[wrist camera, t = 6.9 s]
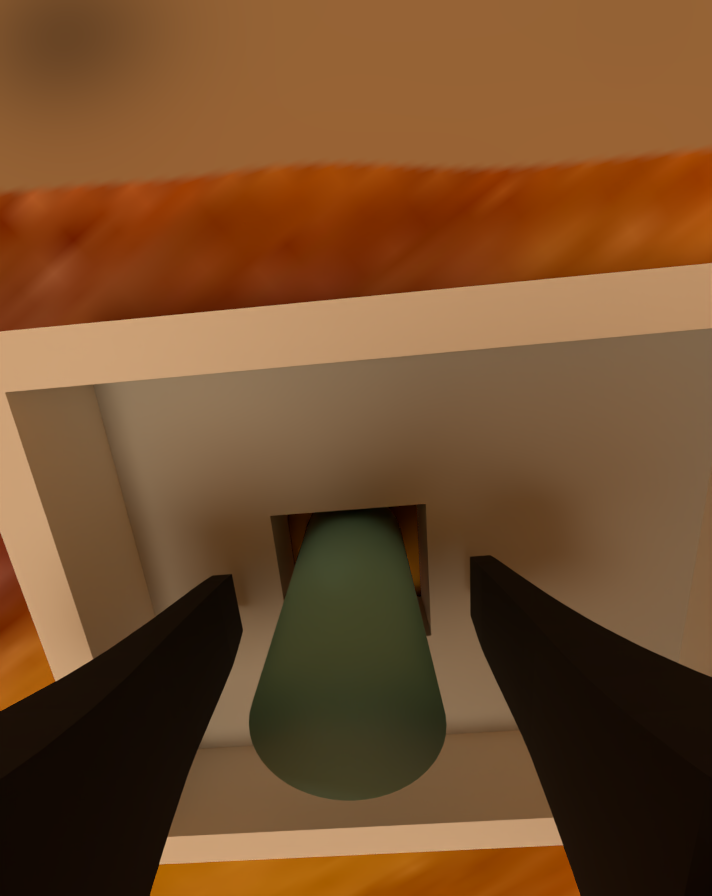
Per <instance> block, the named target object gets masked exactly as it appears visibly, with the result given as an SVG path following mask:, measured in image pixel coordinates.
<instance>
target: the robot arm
mask: <svg viewBox="0 0 712 896" xmlns="http://www.w3.org/2000/svg"><path fill="white" fill-rule="evenodd" d="M470 616H471V619H472V622H473V625H474V628H475V631H476V634H477V637H478V640H479V643H480V646H481V649H482V651H483V653H484V656H485V658H486V660H487V662H488V664H489V666H490V669H491V671H492V673H493V675H494V677H495V679H496V682H497V684H498V686H499V688H500V690H501V692H502V694H503V696H504V699H505V701H506V703H507V705H508V707H509V709H510V711H511V713H512V716H513V718H514V720H515V722H516V724H517V726H518V728H519V731H520V733H521V735H522V737H523V740H524V742H525V744H526V747H527V749H528V751H529V754H530V756H531V759H532V761H533V764H534V767H535V769H536V772H537V775H538V777H539V780H540V783H541V785H542V788H543V791H544V793H545V796H546V799H547V802H548V804H549V807H550V810H551V813H552V815H553V818H554V821H555V824H556V826H557V829H558V832H559V835H560V838H561V840H562V843H563V846H564V849H565V852H566V854H567V857H568V860H569V863H570V866H571V869H572V871H573V874H574V877H575V880H576V883H577V886H578V889H579V892H580V895H581V896H712V677H710V676H708V675H705V674H703V673H700V672H698V671H695V670H693V669H691V668H688V667H686V666H684V665H682V664H679V663H677V662H675V661H673V660H670V659H668V658H666V657H663V656H661V655H659V654H657V653H654V652H652V651H650V650H648V649H646V648H644V647H642V646H640V645H638V644H636V643H633V642H632V641H630V640H628V639H626V638H624V637H622V636H620V635H618V634H616V633H614V632H612V631H610V630H608V629H606V628H604V627H602V626H601V625H599V624H597V623H595V622H593V621H592V620H590V619H588V618H586V617H585V616H583V615H581V614H580V613H578V612H576V611H575V610H573V609H571V608H570V607H568V606H566V605H564V604H563V603H561V602H560V601H558V600H557V599H555V598H553V597H552V596H550V595H549V594H547V593H546V592H544V591H543V590H541V589H540V588H538V587H537V586H535V585H534V584H532V583H531V582H529V581H528V580H526V579H525V578H523V577H522V576H520V575H519V574H518V573H516V572H515V571H513V570H512V569H510V568H509V567H508V566H506V565H505V564H503V563H502V562H500V561H499V560H497V559H496V558H494V557H493V556H491V555H486V556H472V557H470ZM242 633H243V628H242V623H241V617H240V612H239V607H238V602H237V597H236V592H235V587H234V582H233V577H232V574H225V575H212V576H211V577H209V578H207V579H206V580H204V581H203V582H201V583H200V584H199V585H197V586H196V587H195V588H193V589H192V590H190V591H189V592H188V593H186V594H185V595H184V596H182V597H181V598H180V599H178V600H177V601H176V602H174V603H173V604H172V605H170V606H169V607H168V608H166V609H165V610H164V611H162V612H161V613H160V614H158V615H157V616H156V617H154V618H153V619H151V620H150V621H149V622H147V623H146V624H144V625H143V626H142V627H140V628H139V629H137V630H136V631H134V632H133V633H131V634H130V635H129V636H127V637H126V638H124V639H123V640H121V641H120V642H119V643H117V644H116V645H114V646H113V647H111V648H110V649H108V650H107V651H105V652H104V653H102V654H100V655H99V656H97V657H96V658H94V659H93V660H91V661H89V662H88V663H86V664H84V665H83V666H81V667H79V668H78V669H76V670H74V671H73V672H71V673H69V674H68V675H66V676H64V677H63V678H61V679H59V680H58V681H56V682H54V683H52V684H50V685H48V686H47V687H45V688H43V689H41V690H39V691H37V692H35V693H34V694H32V695H30V696H28V697H26V698H24V699H23V700H21V701H19V702H17V703H15V704H13V705H11V706H10V707H8V708H6V709H4V710H2V711H0V896H150V892H151V889H152V885H153V882H154V879H155V876H156V872H157V869H158V866H159V863H160V860H161V856H162V853H163V850H164V847H165V844H166V840H167V837H168V834H169V831H170V827H171V824H172V821H173V818H174V815H175V812H176V809H177V806H178V803H179V800H180V797H181V794H182V791H183V788H184V785H185V782H186V779H187V776H188V773H189V771H190V768H191V766H192V763H193V760H194V758H195V755H196V753H197V750H198V748H199V746H200V743H201V741H202V738H203V736H204V734H205V731H206V729H207V727H208V724H209V722H210V720H211V717H212V715H213V713H214V710H215V708H216V706H217V703H218V701H219V699H220V696H221V694H222V691H223V689H224V687H225V684H226V682H227V679H228V677H229V675H230V672H231V670H232V667H233V664H234V661H235V658H236V655H237V651H238V648H239V644H240V640H241V637H242Z"/></svg>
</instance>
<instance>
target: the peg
mask: <svg viewBox="0 0 712 896" xmlns="http://www.w3.org/2000/svg"><path fill="white" fill-rule="evenodd" d="M446 727H447V723H446V714H445V710H444V706H443V702H442V698H441V694H440V689H439V685H438V681H437V677H436V673H435V669H434V665H433V661H432V657H431V653H430V649H429V645H428V640H427V636H426V632H425V628H424V624H423V620H422V616H421V612H420V608H419V604H418V600H417V595H416V591H415V587H414V583H413V579H412V575H411V571H410V567H409V563H408V559H407V555H406V551H405V546H404V542H403V538H402V534H401V530H400V526H399V523H398V521H397V519H396V517H395V515H394V514H393V513H392V511H391V510H390V509H389V508H388V507H378V508H366V509H353V510H340V511H327V512H314V514H313V515H312V517H311V519H310V521H309V523H308V526H307V529H306V532H305V536H304V539H303V542H302V545H301V548H300V552H299V555H298V558H297V561H296V564H295V568H294V571H293V574H292V577H291V580H290V583H289V587H288V590H287V593H286V596H285V599H284V603H283V606H282V609H281V612H280V615H279V619H278V622H277V625H276V628H275V631H274V635H273V638H272V641H271V644H270V647H269V650H268V654H267V657H266V660H265V663H264V666H263V670H262V673H261V676H260V679H259V682H258V686H257V689H256V692H255V695H254V698H253V702H252V705H251V709H250V713H249V731H250V736H251V740H252V744H253V746H254V748H255V750H256V753H257V754H258V756H259V757H260V759H261V760H262V762H263V763H264V764H265V765H266V766H267V768H268V769H269V770H270V771H271V772H272V773H273V774H275V775H276V776H277V777H278V778H279V779H281V780H282V781H284V782H285V783H287V784H288V785H290V786H292V787H294V788H296V789H298V790H300V791H303V792H305V793H307V794H311V795H314V796H317V797H322V798H327V799H333V800H342V801H356V800H367V799H372V798H377V797H381V796H385V795H388V794H391V793H393V792H396V791H398V790H401V789H402V788H404V787H406V786H408V785H410V784H411V783H413V782H414V781H416V780H417V779H418V778H420V777H421V776H422V775H423V774H424V773H425V772H426V771H427V770H428V769H429V768H430V767H431V766H432V764H433V763H434V762H435V760H436V759H437V757H438V755H439V754H440V752H441V749H442V747H443V744H444V740H445V736H446Z"/></svg>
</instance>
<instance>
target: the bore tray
mask: <svg viewBox="0 0 712 896" xmlns="http://www.w3.org/2000/svg"><path fill="white" fill-rule="evenodd" d="M404 505H417V523H418V543H419V564H420V584H421V597H417V600H418V604H419V608H420V612H421V616H422V620H423V624H424V628H425V632H426V636H427V640H428V645H429V649H430V653H431V657H432V661H433V665H434V669H435V673H436V677H437V681H438V685H439V689H440V694H441V698H442V702H443V706H444V710H445V714H446V723H447V727H446V736H445V740H444V744H443V747H442V749H441V752H440V754H439V755H438V757H437V759H436V760H435V762H434V763H433V764H432V766H431V767H430V768H429V769H428V770H427V771H426V772H425V773H424V774H423V775H422V776H421V777H420V778H418V779H417V780H416V781H414V782H413V783H411V784H410V785H408V786H406V787H404V788H402V789H401V790H398V791H396V792H393V793H391V794H388V795H385V796H381V797H377V798H372V799H367V800H356V801H342V800H333V799H327V798H322V797H317V796H314V795H311V794H307V793H305V792H303V791H300V790H298V789H296V788H294V787H292V786H290V785H288V784H287V783H285V782H284V781H282V780H281V779H279V778H278V777H277V776H276V775H275V774H273V773H272V772H271V771H270V770H269V769H268V768H267V766H266V765H265V764H264V763H263V762H262V760H261V759H260V757H259V756H258V754H257V753H256V750H255V748H254V746H253V744H252V740H251V736H250V731H249V713H250V709H251V705H252V702H253V698H254V695H255V692H256V689H257V686H258V682H259V679H260V676H261V673H262V670H263V666H264V663H265V660H266V657H267V654H268V650H269V647H270V644H271V641H272V638H273V635H274V631H275V628H276V625H277V622H278V619H279V615H280V612H281V609H282V606H283V603H284V599H285V596H286V593H287V590H288V587H289V583H290V580H291V577H292V574H293V571H294V568H295V565H294V558H293V552H292V545H291V538H290V531H289V524H288V518H287V515H288V514H301V513H314V512H327V511H340V510H353V509H366V508H378V507H391V506H404ZM0 532H1V535H2V538H3V540H4V543H5V546H6V549H7V551H8V554H9V557H10V559H11V562H12V565H13V567H14V570H15V573H16V576H17V578H18V581H19V584H20V586H21V589H22V592H23V595H24V597H25V600H26V603H27V605H28V608H29V611H30V613H31V616H32V619H33V622H34V624H35V627H36V630H37V632H38V635H39V638H40V640H41V643H42V646H43V649H44V651H45V654H46V657H47V659H48V662H49V665H50V668H51V670H52V673H53V676H54V678H55V681H58V680H59V679H61V678H63V677H64V676H66V675H68V674H69V673H71V672H73V671H74V670H76V669H78V668H79V667H81V666H83V665H84V664H86V663H88V662H89V661H91V660H93V659H94V658H96V657H97V656H99V655H100V654H102V653H104V652H105V651H107V650H108V649H110V648H111V647H113V646H114V645H116V644H117V643H119V642H120V641H121V640H123V639H124V638H126V637H127V636H129V635H130V634H131V633H133V632H134V631H136V630H137V629H139V628H140V627H142V626H143V625H144V624H146V623H147V622H149V621H150V620H151V619H153V618H154V617H156V616H157V615H158V614H160V613H161V612H162V611H164V610H165V609H166V608H168V607H169V606H170V605H172V604H173V603H174V602H176V601H177V600H178V599H180V598H181V597H182V596H184V595H185V594H186V593H188V592H189V591H190V590H192V589H193V588H195V587H196V586H197V585H199V584H200V583H201V582H203V581H204V580H206V579H207V578H209V577H211V576H212V575H225V574H232V577H233V582H234V587H235V592H236V597H237V602H238V607H239V612H240V617H241V623H242V628H243V633H242V637H241V640H240V644H239V648H238V651H237V655H236V658H235V661H234V664H233V667H232V670H231V672H230V675H229V677H228V679H227V682H226V684H225V687H224V689H223V691H222V694H221V696H220V699H219V701H218V703H217V706H216V708H215V710H214V713H213V715H212V717H211V720H210V722H209V724H208V727H207V729H206V731H205V734H204V736H203V738H202V741H201V743H200V746H199V748H198V750H197V753H196V755H195V758H194V760H193V763H192V766H191V768H190V771H189V773H188V776H187V779H186V782H185V785H184V788H183V791H182V794H181V797H180V800H179V803H178V806H177V809H176V812H175V815H174V818H173V821H172V824H171V827H170V831H169V834H168V837H167V840H166V844H165V847H164V850H163V853H162V856H161V860H160V863H159V864H175V863H196V862H217V861H238V860H259V859H280V858H301V857H322V856H343V855H364V854H385V853H406V852H427V851H448V850H469V849H490V848H511V847H532V846H553V845H563V843H562V840H561V838H560V835H559V832H558V829H557V826H556V824H555V821H554V818H553V815H552V813H551V810H550V807H549V804H548V802H547V799H546V796H545V793H544V791H543V788H542V785H541V783H540V780H539V777H538V775H537V772H536V769H535V767H534V764H533V761H532V759H531V756H530V754H529V751H528V749H527V747H526V744H525V742H524V740H523V737H522V735H521V733H520V731H519V728H518V726H517V724H516V722H515V720H514V718H513V716H512V713H511V711H510V709H509V707H508V705H507V703H506V701H505V699H504V696H503V694H502V692H501V690H500V688H499V686H498V684H497V682H496V679H495V677H494V675H493V673H492V671H491V669H490V666H489V664H488V662H487V660H486V658H485V656H484V653H483V651H482V649H481V646H480V643H479V640H478V637H477V634H476V631H475V628H474V625H473V622H472V619H471V616H470V557H472V556H486V555H491V556H493V557H494V558H496V559H497V560H499V561H500V562H502V563H503V564H505V565H506V566H508V567H509V568H510V569H512V570H513V571H515V572H516V573H518V574H519V575H520V576H522V577H523V578H525V579H526V580H528V581H529V582H531V583H532V584H534V585H535V586H537V587H538V588H540V589H541V590H543V591H544V592H546V593H547V594H549V595H550V596H552V597H553V598H555V599H557V600H558V601H560V602H561V603H563V604H564V605H566V606H568V607H570V608H571V609H573V610H575V611H576V612H578V613H580V614H581V615H583V616H585V617H586V618H588V619H590V620H592V621H593V622H595V623H597V624H599V625H601V626H602V627H604V628H606V629H608V630H610V631H612V632H614V633H616V634H618V635H620V636H622V637H624V638H626V639H628V640H630V641H632V642H633V643H636V644H638V645H640V646H642V647H644V648H646V649H648V650H650V651H652V652H654V653H657V654H659V655H661V656H663V657H666V658H668V659H670V660H673V661H675V662H677V663H679V664H682V665H684V666H686V667H688V668H691V669H693V670H695V671H698V672H700V673H703V674H705V675H708V676H710V677H712V263H708V264H697V265H687V266H677V267H666V268H656V269H646V270H635V271H625V272H614V273H604V274H594V275H583V276H573V277H563V278H552V279H542V280H531V281H521V282H511V283H500V284H490V285H480V286H469V287H459V288H449V289H438V290H428V291H417V292H407V293H397V294H386V295H376V296H366V297H355V298H345V299H334V300H324V301H314V302H303V303H293V304H283V305H272V306H262V307H251V308H241V309H231V310H220V311H210V312H200V313H189V314H179V315H168V316H158V317H148V318H137V319H127V320H117V321H106V322H96V323H86V324H75V325H65V326H54V327H44V328H34V329H23V330H13V331H3V332H0Z"/></svg>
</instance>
